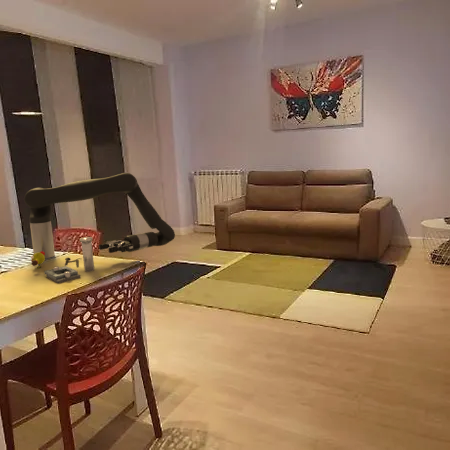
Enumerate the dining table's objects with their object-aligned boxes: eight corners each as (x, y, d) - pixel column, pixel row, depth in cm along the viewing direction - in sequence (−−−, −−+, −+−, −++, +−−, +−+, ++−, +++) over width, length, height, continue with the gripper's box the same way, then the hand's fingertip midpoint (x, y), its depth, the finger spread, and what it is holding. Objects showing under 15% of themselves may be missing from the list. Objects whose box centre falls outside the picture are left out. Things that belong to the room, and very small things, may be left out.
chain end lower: (46, 277, 165) (45, 270, 164) (68, 272, 171) (67, 265, 170) (58, 283, 157) (57, 275, 156) (80, 277, 163) (79, 270, 162)
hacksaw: (65, 260, 192) (65, 257, 191) (88, 258, 195) (88, 254, 195) (63, 274, 169) (62, 271, 169) (89, 272, 172) (88, 268, 172)
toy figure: (36, 262, 187) (34, 248, 186) (49, 261, 188) (47, 247, 187) (27, 274, 170) (25, 258, 169) (41, 272, 171) (39, 257, 170)
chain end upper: (44, 276, 166) (43, 269, 165) (66, 271, 172) (65, 264, 172) (56, 282, 158) (55, 274, 158) (78, 276, 164) (77, 269, 164)
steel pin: (81, 270, 173) (77, 238, 170) (92, 267, 176) (88, 236, 173) (86, 273, 169) (83, 240, 166) (97, 270, 173) (94, 238, 170)
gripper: (127, 232, 192) (95, 238, 181) (144, 236, 182) (111, 243, 171) (128, 247, 193) (96, 254, 182) (145, 252, 183) (113, 260, 172)
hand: (104, 249), depth 176 cm, fingers open, 8 cm apart
